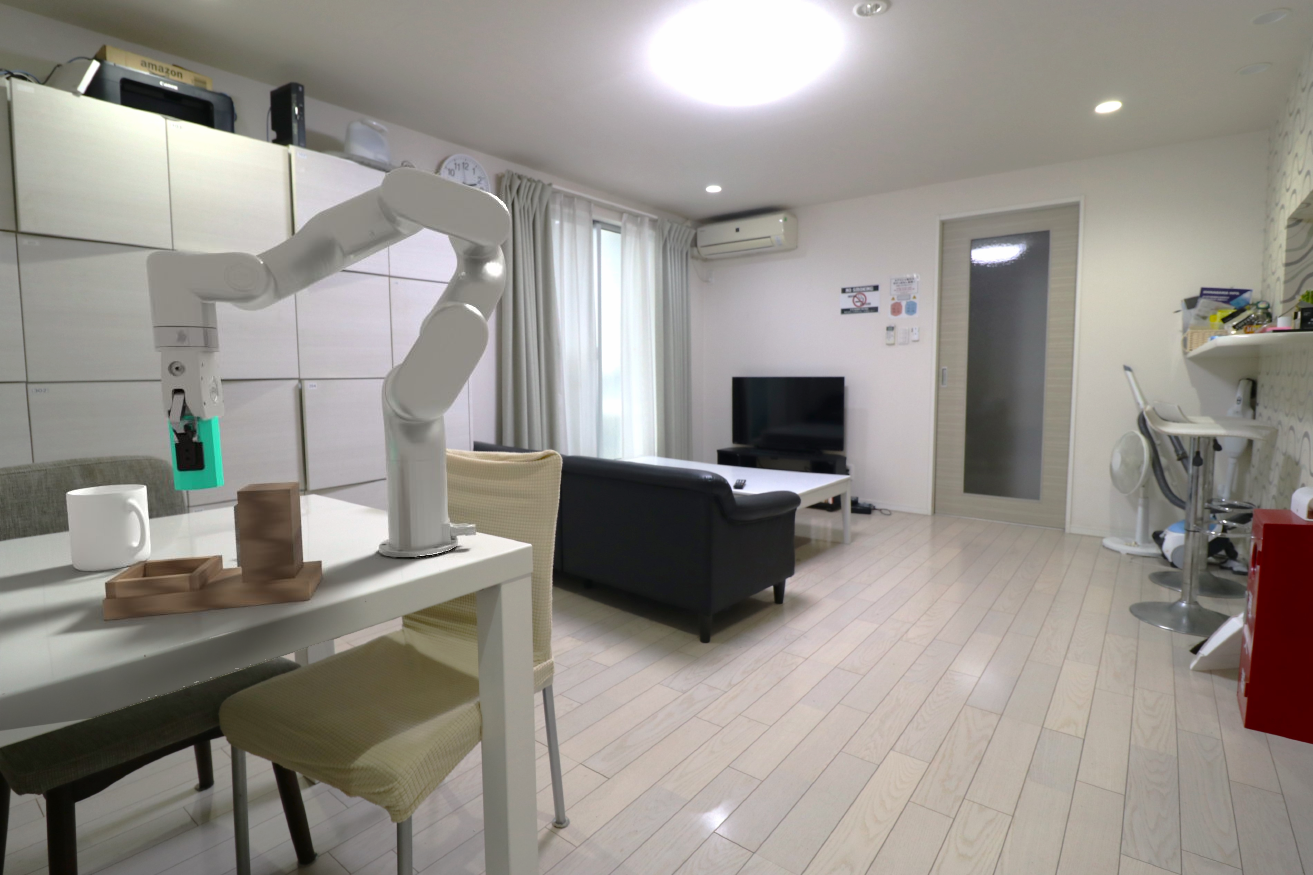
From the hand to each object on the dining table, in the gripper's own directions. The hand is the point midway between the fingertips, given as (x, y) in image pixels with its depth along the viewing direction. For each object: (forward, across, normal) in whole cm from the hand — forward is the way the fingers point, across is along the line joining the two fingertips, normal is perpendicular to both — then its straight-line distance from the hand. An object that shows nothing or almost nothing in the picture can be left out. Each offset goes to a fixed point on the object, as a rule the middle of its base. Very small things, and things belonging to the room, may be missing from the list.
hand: (198, 466), depth 93 cm
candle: (+3, 0, 0) cm, 3 cm away
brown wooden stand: (+16, -12, -5) cm, 21 cm away
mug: (+16, +11, +15) cm, 24 cm away
